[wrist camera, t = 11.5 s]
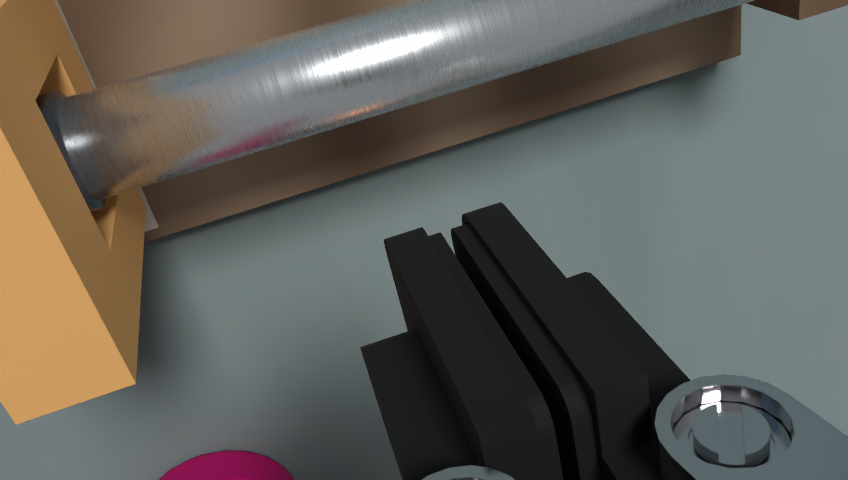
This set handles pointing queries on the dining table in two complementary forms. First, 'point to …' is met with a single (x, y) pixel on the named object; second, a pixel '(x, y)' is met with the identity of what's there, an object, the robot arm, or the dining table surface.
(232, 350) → the dining table surface
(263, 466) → the pepper mill
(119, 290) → the collar
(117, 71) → the stand
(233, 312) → the dining table surface
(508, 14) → the pipe
